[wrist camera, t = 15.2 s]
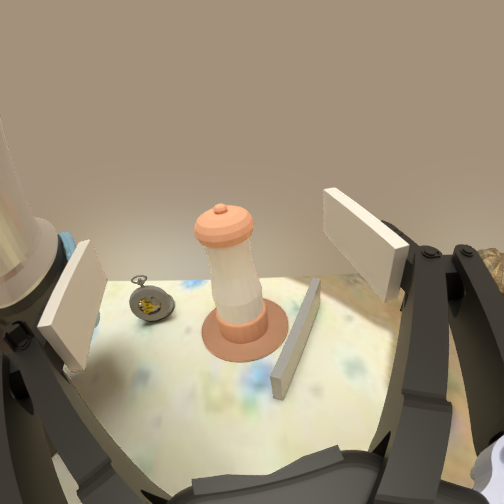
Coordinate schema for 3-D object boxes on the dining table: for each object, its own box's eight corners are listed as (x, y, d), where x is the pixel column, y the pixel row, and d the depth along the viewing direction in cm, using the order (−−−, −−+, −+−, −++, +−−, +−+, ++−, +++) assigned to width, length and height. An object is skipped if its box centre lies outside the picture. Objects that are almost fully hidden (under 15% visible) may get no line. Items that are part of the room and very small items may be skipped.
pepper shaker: (278, 324, 41) (265, 200, 31) (239, 352, 37) (209, 225, 28) (248, 302, 46) (227, 189, 36) (211, 325, 43) (177, 209, 33)
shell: (458, 346, 31) (488, 280, 25) (442, 296, 40) (459, 234, 34) (510, 339, 28) (541, 278, 22) (489, 295, 37) (509, 236, 31)
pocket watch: (161, 292, 52) (145, 247, 47) (188, 310, 47) (172, 261, 42) (128, 316, 47) (106, 271, 42) (152, 338, 42) (128, 290, 37)
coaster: (186, 347, 40) (185, 345, 40) (226, 293, 50) (225, 291, 49) (269, 372, 35) (269, 369, 34) (298, 306, 44) (298, 304, 44)
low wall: (273, 397, 31) (270, 376, 29) (312, 302, 45) (312, 277, 42) (282, 400, 31) (280, 378, 28) (319, 303, 44) (320, 278, 42)
